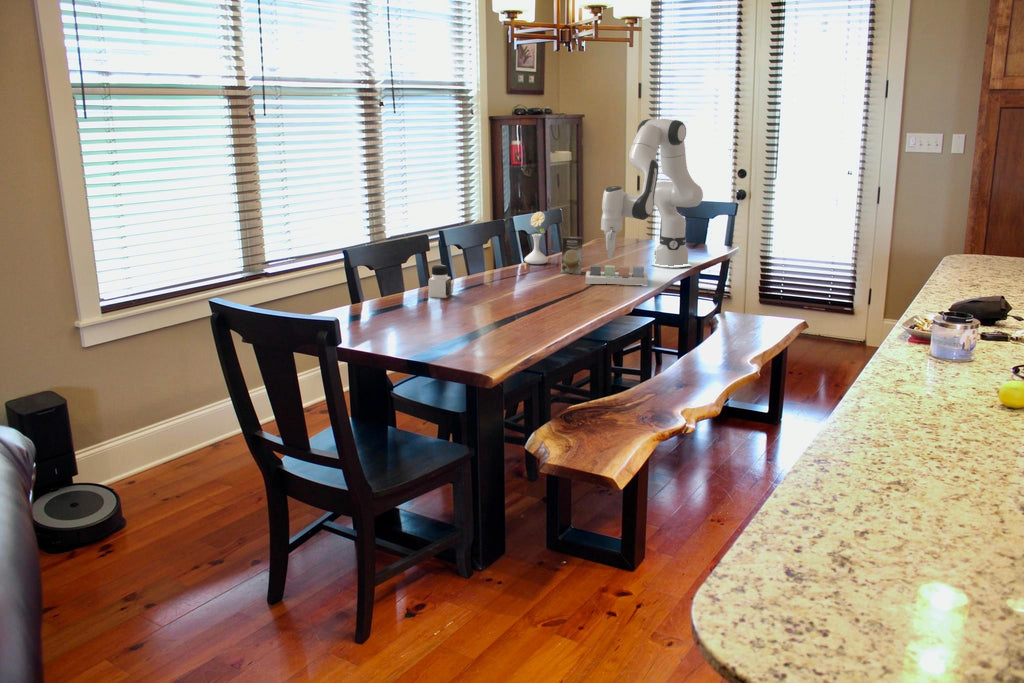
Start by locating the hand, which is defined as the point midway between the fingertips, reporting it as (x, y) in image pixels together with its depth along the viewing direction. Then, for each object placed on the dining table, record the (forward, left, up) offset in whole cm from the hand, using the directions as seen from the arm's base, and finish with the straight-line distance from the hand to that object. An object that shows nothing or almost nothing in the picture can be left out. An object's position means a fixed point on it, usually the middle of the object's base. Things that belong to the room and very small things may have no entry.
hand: (609, 258), depth 364 cm
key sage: (0, 0, -8) cm, 8 cm away
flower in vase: (-37, -34, -10) cm, 51 cm away
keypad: (0, +3, -10) cm, 11 cm away
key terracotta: (0, +6, -8) cm, 10 cm away
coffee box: (-18, -17, -10) cm, 27 cm away
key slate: (0, +12, -8) cm, 14 cm away
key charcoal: (0, -6, -8) cm, 10 cm away
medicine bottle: (+39, -66, -10) cm, 77 cm away
